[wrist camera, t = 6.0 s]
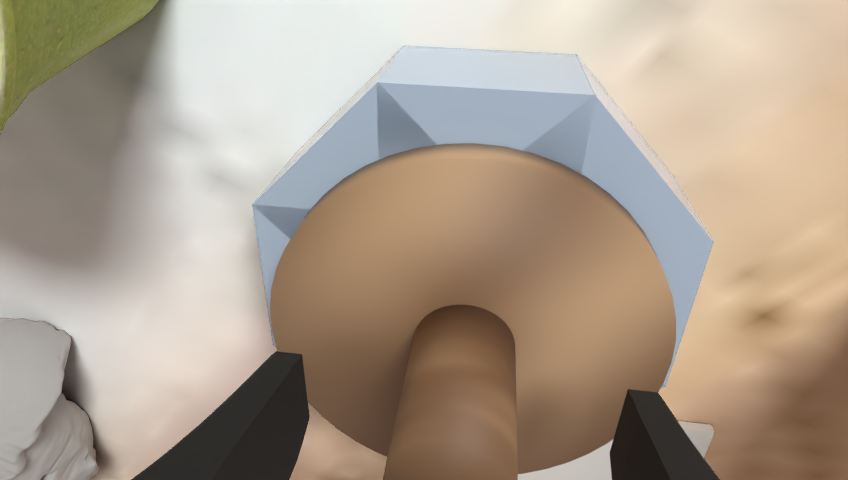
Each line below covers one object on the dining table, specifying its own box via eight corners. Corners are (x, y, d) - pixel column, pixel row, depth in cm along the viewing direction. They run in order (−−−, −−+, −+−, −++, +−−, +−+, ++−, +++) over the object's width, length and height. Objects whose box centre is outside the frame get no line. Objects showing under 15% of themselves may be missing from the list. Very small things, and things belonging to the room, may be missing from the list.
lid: (749, 218, 14) (876, 380, 9) (572, 485, 19) (593, 670, 15) (312, 86, 13) (207, 184, 9) (263, 397, 19) (183, 557, 14)
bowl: (705, 61, 16) (759, 103, 12) (619, 377, 22) (639, 464, 18) (287, 39, 17) (232, 73, 13) (317, 345, 23) (284, 422, 20)
